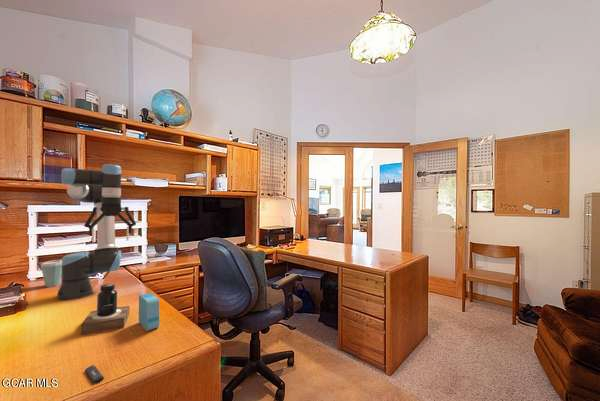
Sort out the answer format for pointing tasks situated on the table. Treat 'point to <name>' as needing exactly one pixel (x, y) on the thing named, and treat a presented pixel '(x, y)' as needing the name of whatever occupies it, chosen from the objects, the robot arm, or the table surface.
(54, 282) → the disposable coffee cup
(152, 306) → the light-blue rounded block
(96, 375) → the usb stick
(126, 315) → the base
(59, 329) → the table surface
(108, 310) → the supplement bottle
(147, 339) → the table surface
